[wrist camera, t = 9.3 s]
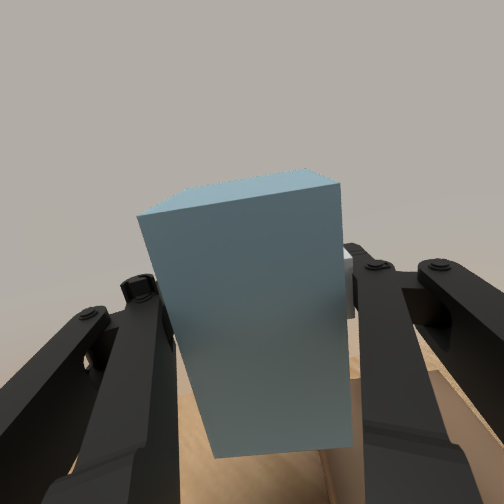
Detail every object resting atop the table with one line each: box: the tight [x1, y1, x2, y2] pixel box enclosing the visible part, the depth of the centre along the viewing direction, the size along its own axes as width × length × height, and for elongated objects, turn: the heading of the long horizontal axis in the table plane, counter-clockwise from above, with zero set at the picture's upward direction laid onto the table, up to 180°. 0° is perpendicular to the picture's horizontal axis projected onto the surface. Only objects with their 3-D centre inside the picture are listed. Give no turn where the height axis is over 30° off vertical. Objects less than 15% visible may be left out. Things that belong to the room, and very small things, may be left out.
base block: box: [319, 370, 504, 504], centre depth 18 cm, size 10×10×6 cm
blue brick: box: [137, 168, 353, 459], centre depth 13 cm, size 6×6×11 cm
